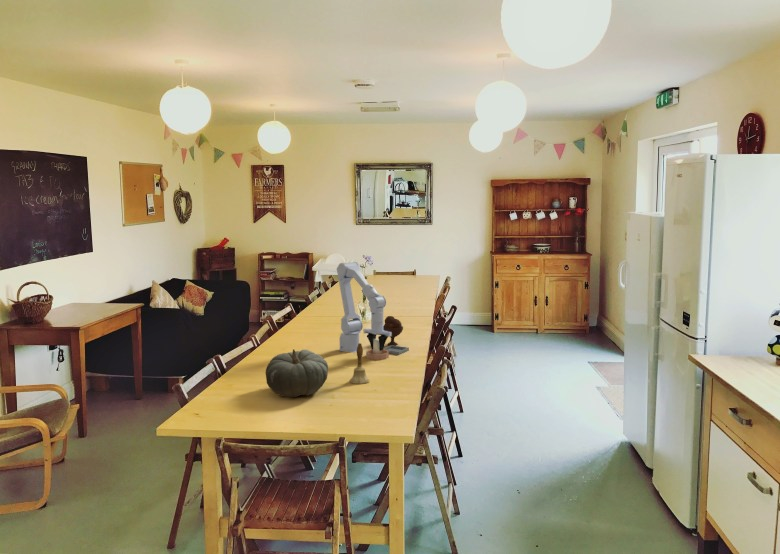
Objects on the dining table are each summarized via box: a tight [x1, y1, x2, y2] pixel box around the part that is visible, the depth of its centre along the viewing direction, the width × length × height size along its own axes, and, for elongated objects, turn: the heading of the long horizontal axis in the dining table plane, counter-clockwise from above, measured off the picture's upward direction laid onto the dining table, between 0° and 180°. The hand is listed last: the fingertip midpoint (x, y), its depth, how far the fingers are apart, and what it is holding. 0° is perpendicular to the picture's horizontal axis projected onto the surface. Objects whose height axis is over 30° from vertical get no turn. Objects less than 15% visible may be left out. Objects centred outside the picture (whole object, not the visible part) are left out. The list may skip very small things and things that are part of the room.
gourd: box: [265, 349, 329, 398], centre depth 239 cm, size 25×25×17 cm
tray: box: [384, 345, 410, 356], centre depth 300 cm, size 10×10×2 cm
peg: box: [373, 338, 382, 354], centre depth 290 cm, size 4×4×8 cm
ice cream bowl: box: [383, 315, 404, 347], centre depth 315 cm, size 11×11×15 cm
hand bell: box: [349, 342, 370, 385], centre depth 253 cm, size 8×8×16 cm
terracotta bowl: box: [365, 349, 390, 361], centre depth 290 cm, size 11×11×3 cm
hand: (377, 349), depth 290 cm, fingers closed on peg, 4 cm apart
